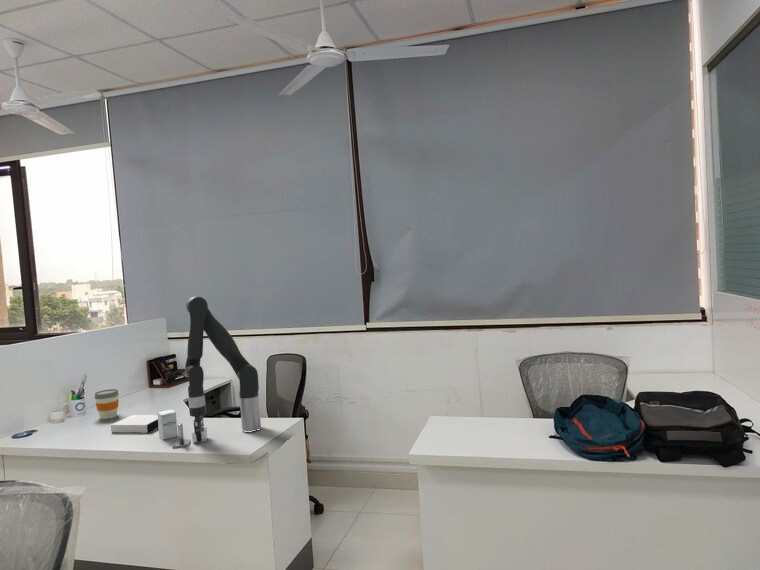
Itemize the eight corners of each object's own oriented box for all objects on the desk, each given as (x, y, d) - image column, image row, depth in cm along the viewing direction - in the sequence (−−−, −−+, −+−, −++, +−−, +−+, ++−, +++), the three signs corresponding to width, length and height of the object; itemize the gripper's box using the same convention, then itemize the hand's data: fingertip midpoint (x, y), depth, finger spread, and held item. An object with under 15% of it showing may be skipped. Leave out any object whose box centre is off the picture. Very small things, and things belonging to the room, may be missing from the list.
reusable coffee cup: (124, 413, 313) (122, 388, 312) (112, 419, 301) (109, 394, 300) (105, 414, 314) (102, 389, 314) (91, 420, 302) (89, 395, 301)
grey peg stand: (190, 441, 253) (188, 421, 252) (188, 446, 246) (186, 425, 246) (175, 443, 252) (173, 423, 251) (172, 448, 245) (170, 427, 244)
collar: (207, 437, 257) (206, 427, 257) (205, 441, 251) (205, 431, 251) (194, 439, 256) (193, 429, 255) (192, 443, 250) (191, 432, 249)
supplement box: (162, 440, 258) (160, 415, 257) (159, 436, 264) (156, 412, 263) (178, 436, 262) (176, 411, 261) (174, 433, 268) (172, 408, 267)
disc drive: (149, 433, 271) (148, 424, 271) (111, 433, 276) (110, 424, 275) (169, 423, 288) (168, 414, 288) (133, 423, 293) (132, 414, 293)
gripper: (203, 408, 246) (206, 443, 247) (207, 400, 260) (210, 433, 261) (186, 410, 245) (189, 445, 245) (191, 402, 259) (194, 435, 260)
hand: (200, 439), depth 253 cm, fingers closed on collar, 6 cm apart
